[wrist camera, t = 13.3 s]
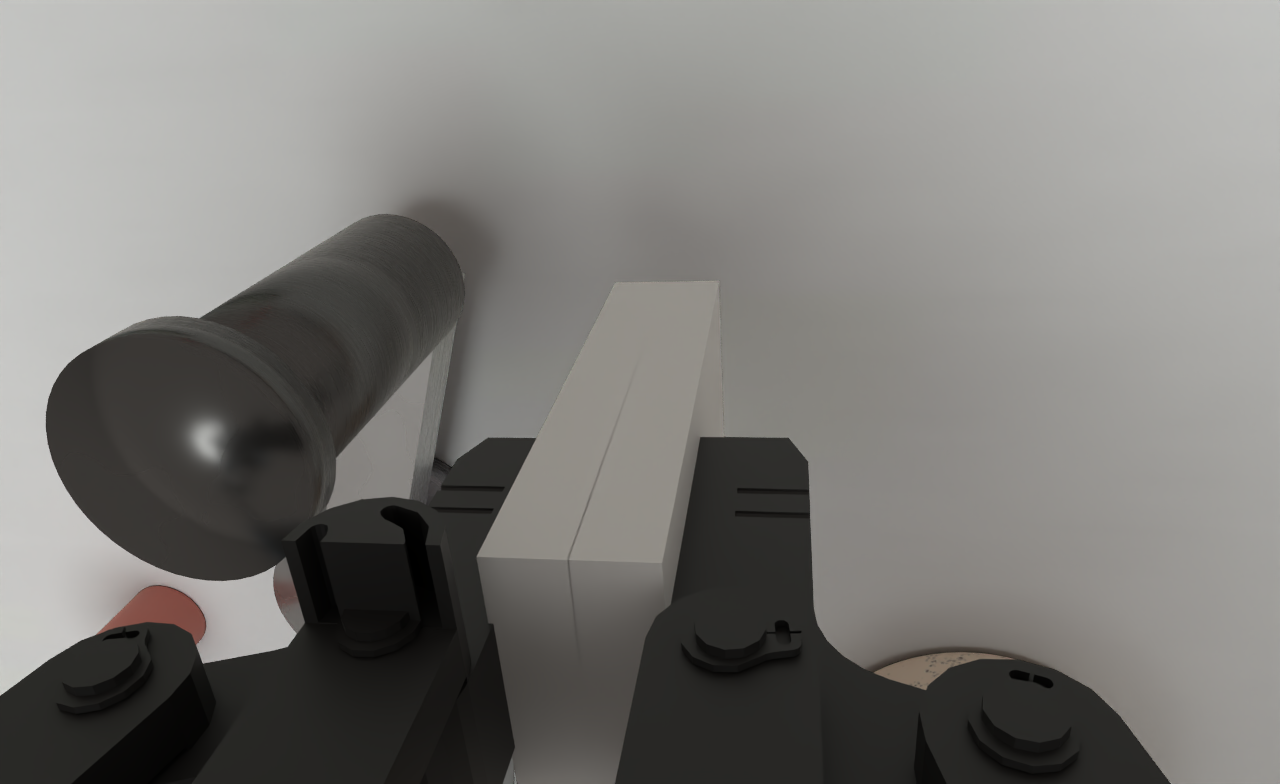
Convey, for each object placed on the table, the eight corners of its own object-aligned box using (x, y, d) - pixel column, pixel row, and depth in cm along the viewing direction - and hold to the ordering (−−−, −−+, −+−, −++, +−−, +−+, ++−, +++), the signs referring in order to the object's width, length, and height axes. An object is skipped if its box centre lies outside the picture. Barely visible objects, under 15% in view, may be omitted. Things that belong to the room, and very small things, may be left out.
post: (210, 651, 29) (24, 875, 22) (140, 639, 29) (-65, 858, 22) (200, 592, 28) (0, 807, 21) (127, 580, 28) (-94, 790, 21)
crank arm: (444, 646, 26) (279, 978, 17) (297, 602, 26) (62, 911, 17) (530, 209, 20) (344, 394, 11) (339, 153, 20) (15, 296, 12)
